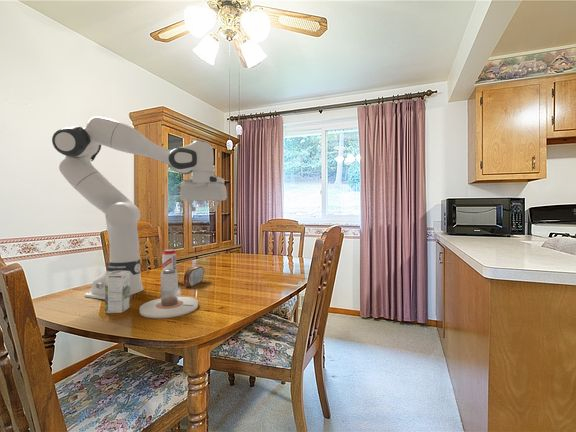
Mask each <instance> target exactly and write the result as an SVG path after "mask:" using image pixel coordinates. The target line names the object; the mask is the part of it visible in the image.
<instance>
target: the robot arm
mask: <svg viewBox="0 0 576 432" xmlns="http://www.w3.org/2000/svg"><path fill="white" fill-rule="evenodd" d="M51 142H52V146H53V147H54V149H55V150H56V151H57V152H58V153H60V154H61V155H62V156H65V157H64V159H62V160H61V162H60V163H59V166H58V168H59V172H60V173H61V174H62V176H63V177H64V179H65V180H66V181H67V182H68V183H69V184H70V185H71V187H72V188H74V189H75V190H76V191H77V192H78V193H79V194H80V195H81V196H82V197H83V198H84V199H86V200H87V201H88V202H89V203H90V204H91V205H92V206H94V207H95V208H97V210H99V211H101V213H103V214H104V215H105V223H106V229H107V235H108V236H107V237H108V241H109V242H108V243H109V262H107V263H105V264H104V265H103V267H106V269H105V271H104V272H102V273H101V274H100V275H98V276H97V277H96V278H95V279H93V280H92V283H91V290H90V291H87V292H85V293H84V297H86V298H90V299H91V298H92V299H98V300H99V299H100V300H105V275H106V274H108V273H110V272H113V271H119V270H123V271H130V296H132V295H134V294H136V293H139V292H142V291H143V290H144V287H143V283H142V277H141V266H142V265H141V263H142V262H141V259H140V240H139V239H140V238H139V230H138V222H139V221H140V219H141V211H140V209H139V207H138V206H137V205H136V204H135V203H133V202H132V201H131V199H130V198H128V197H127V196H125V194H124V193H122V191H120V190H119V189H118V188H117V187H115V186H114V185H113V184H112V183H111V182H110V181H109V180H108V179H107V178H106V177H105V176H104V175H103V174H102V173H101V172H100V171H99V170H98V169H96V167H95V166H94V165H93V164H92V162H93V161H94V160H95V159H96V157H97V155H98V154H99V153H100V151H101V149H102V146H104V147H108V148H110V149H113V150H116V151H119V152H122V153H126V154H130V155H137V156H143V157H148V158H150V159H153V160H156V161H157V162H161V163H164V164H167V165H168V166H170V167H172V168H173V169H174V170H175V171H176V172H177V173H179V174H180V175H189V174H192V179H183V180H182V181H181V182H180V193H179V198H180V200H181V201H184V202H185V201H187V203H188V205H189V208H190V211H191V212H196V211H197V208H196V207H197V206H196V207H195V206H194V201H198V202H199V201H203V202H204V201H205V202H206V201H207V202H209V201H210V202H211V201H213V206H211V212H217V207H218V206H219V204H220V202H219V201H226V200H227V199H228V194H227V193H228V192H227V191H228V190H227V186H226V185H225V179H224V178H222V177H219V176H218V175H214V174H215V173H214V162H215V161H214V157H215V156H214V150H213V149H214V148H213V146H212V145H211V144H210V142H207V141H204V140H198V139H197V140H193V142H191V143H188V144H187V145H184V146H180V147H175V148H173V149H168V148H167V147H166V148H165V147H164V146H161V145H158V144H157V143H154V142H153V141H151V140H149V139H148V137H146V136H145V135H144V134H143V133H141V132H140V131H139V130H137V129H135V128H133V127H132V126H130V125H128V124H125V123H123V122H120V121H117V120H114V119H112V118H107V117H102V116H93V117H91V118H90V119H89V120H88V121H87V123H86V126H85V127H82V126H79V125H78V126H70V127H64V128H60V129H58V130H56V131H55V132H54V133H53V135H52V138H51Z"/></svg>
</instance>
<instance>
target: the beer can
mask: <svg viewBox="0 0 576 432" xmlns="http://www.w3.org/2000/svg"><path fill="white" fill-rule="evenodd" d="M161 254H162V255H161V257H162V259H161V260H162V271H163V270H165V269H175V271H177V252H176V250H175V249H173V248H169V249H167V248H166V249H163V252H162V253H161Z"/></svg>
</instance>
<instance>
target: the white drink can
mask: <svg viewBox="0 0 576 432" xmlns="http://www.w3.org/2000/svg"><path fill="white" fill-rule="evenodd" d="M178 273H179V272H178V271H177V270H176V271H175V269H165V270H163V269H162V272H160V298H161V305H162V306H174V305H176V304H178V296H179V289H178V287H179V286H178V285H179V284H178V283H179V282H178V281H179V280H178V277H179V276H178V275H179V274H178Z"/></svg>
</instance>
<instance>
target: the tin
mask: <svg viewBox="0 0 576 432" xmlns="http://www.w3.org/2000/svg"><path fill="white" fill-rule="evenodd" d="M204 273H205V271H204V267H203V266H201V265H195V266H191V267H189V268H187V269H186V271H185V273H184V276H183V285H184V286H185V287H190V288H191V287H194V286H196V285H199V284H200V283H201V282H202V281H203V279H204Z"/></svg>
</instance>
